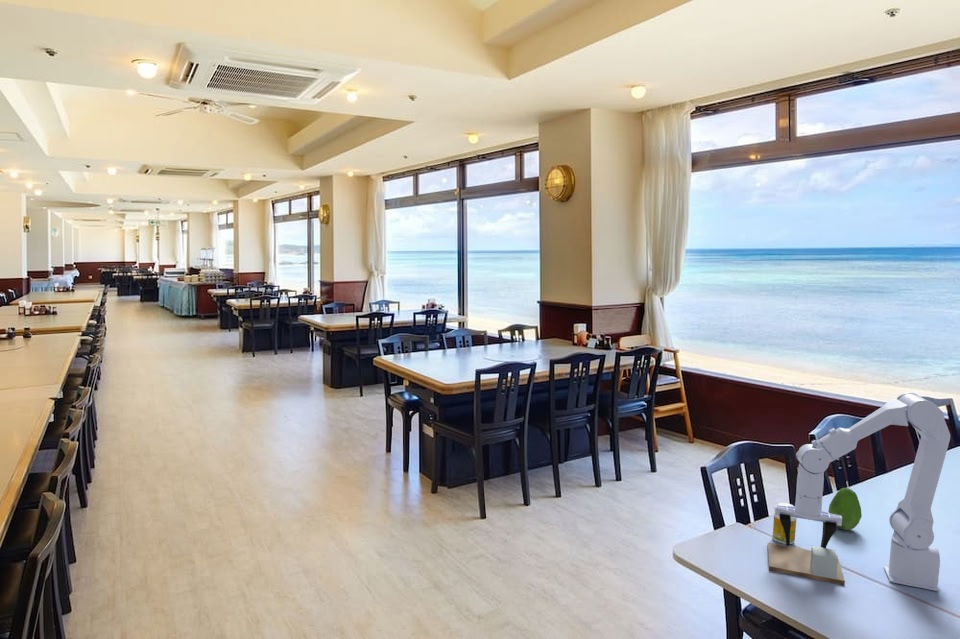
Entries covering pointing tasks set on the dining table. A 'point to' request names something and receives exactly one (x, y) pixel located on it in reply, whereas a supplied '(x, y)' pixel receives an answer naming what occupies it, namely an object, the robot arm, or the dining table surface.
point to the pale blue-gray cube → (823, 562)
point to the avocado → (846, 508)
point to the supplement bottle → (778, 528)
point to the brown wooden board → (797, 563)
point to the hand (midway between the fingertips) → (805, 547)
